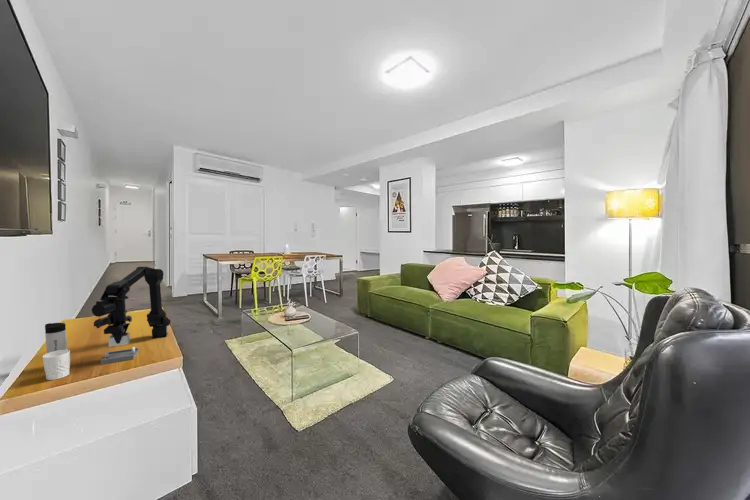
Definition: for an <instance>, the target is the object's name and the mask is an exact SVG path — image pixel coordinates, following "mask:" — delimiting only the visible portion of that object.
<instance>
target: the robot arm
mask: <svg viewBox="0 0 750 500" xmlns="http://www.w3.org/2000/svg"><path fill="white" fill-rule="evenodd" d="M164 274H165V273H164V271H163V269H161V268H152V267H149V266H137V267H136V269H134V270H133V271H132V272H130V273H129V274H127V275H126V276H125V277H123V278H122V279H120V280H117V281H113V282H112V283H110V284H107V286H106V287H105V289H104V291H103V293H102V295H101V297H100V299H99V300H96V302H95V304H94V305H93V306H92V308H91V313H92V315H94V316H95V317H99V318H98V319H95V320H94V321H93V327H96V329H99V328H101V327H104V326H106V327H105V328H104V329H103V335H109V334H110V335H113V337H114V339H115V341H116V343H117V344H119V343H120V341H121V339H122V336H123V333H127V331H128V329H129V326H130V324H131V322H132V321H133V318H132V316H131V315H127V313H128V310H126V300H128V299H129V296H127V294H128V293H129V292H130V290H131V287H132V286H133V285H134V284H136V283H137V282H138V281H139V280H141V279H142V278H144V281H145V282H146V284H148V287H149V288H148V289H149V302H150V310H149V313H146V322H147V323H148V326H149V327H150V328H151V327H152V329H151V336H152V339H158V338H166V337H167V336H168V335H169V332H168V326H170V324H171V319H170V318H168V317H167V313H166V311H165V310H164V309H163V308H162V293H161V283H162V281H163V280H164ZM105 315H107V316H105ZM102 316H104V317H102Z"/></svg>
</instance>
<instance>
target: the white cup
mask: <svg viewBox="0 0 750 500" xmlns="http://www.w3.org/2000/svg"><path fill="white" fill-rule="evenodd" d="M42 364H43V367H44V368H43V369H44V373H45V378H46V380H47V381H54V380H59V379H63V378H65V377H67V376H69V375H70V374H71V373H70V367H71V350H70V349H67V350H58V351H53V352H50V353H47V352H46V353H45V354H43V355H42Z"/></svg>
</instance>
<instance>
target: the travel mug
mask: <svg viewBox="0 0 750 500" xmlns="http://www.w3.org/2000/svg"><path fill="white" fill-rule="evenodd" d="M44 330H45V332H44V333H45V346H46V354H47V353H50V352H53V351H58V350H68V340H67V338H68V337H67V328H66V323H64V322H53V323H52V322H50V323H49V322H48V323H46V324H44Z"/></svg>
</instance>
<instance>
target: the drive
mask: <svg viewBox="0 0 750 500" xmlns="http://www.w3.org/2000/svg"><path fill="white" fill-rule="evenodd" d="M107 340H108V348H109V347H117V346H123V345H128V344H129V343H130V341H131V333H130V332H126V333H123V336H122V339H121V341H120V343H119V344H117V343H116V341H115V339H114V337H113V335H112V334H110V336H109V337H108V339H107Z"/></svg>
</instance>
